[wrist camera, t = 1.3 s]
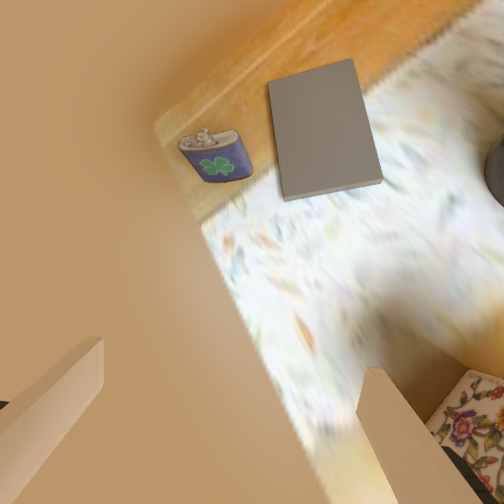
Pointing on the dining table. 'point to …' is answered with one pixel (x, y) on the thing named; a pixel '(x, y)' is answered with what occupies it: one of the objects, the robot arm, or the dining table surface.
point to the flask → (217, 156)
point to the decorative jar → (475, 427)
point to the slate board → (323, 132)
